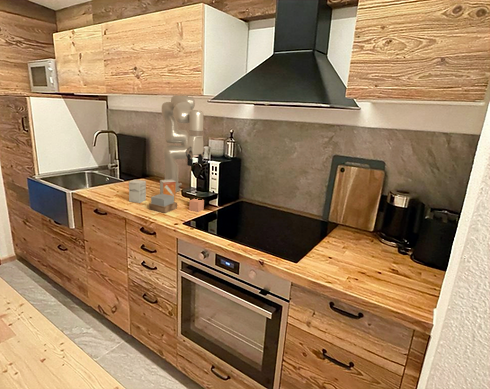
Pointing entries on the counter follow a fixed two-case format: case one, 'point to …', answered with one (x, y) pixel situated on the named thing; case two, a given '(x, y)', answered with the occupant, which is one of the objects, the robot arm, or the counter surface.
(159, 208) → the tower bottom
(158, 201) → the tower top
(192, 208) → the terracotta block
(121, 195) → the counter surface
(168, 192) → the small box
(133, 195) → the supplement box
